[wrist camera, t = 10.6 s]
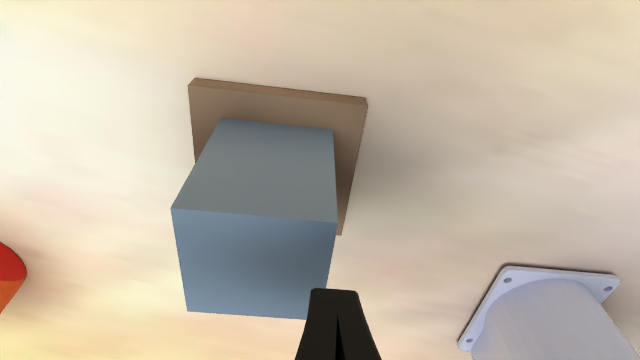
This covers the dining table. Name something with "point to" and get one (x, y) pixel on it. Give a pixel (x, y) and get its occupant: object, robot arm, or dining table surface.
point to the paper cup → (10, 275)
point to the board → (283, 120)
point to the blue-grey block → (257, 220)
